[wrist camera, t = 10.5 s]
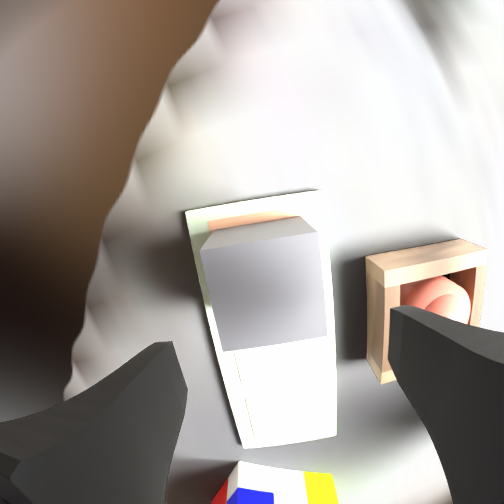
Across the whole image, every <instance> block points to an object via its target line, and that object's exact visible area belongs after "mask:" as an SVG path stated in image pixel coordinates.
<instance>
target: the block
mask: <svg viewBox="0 0 504 504" xmlns="http://www.w3.org/2000/svg"><path fill="white" fill-rule="evenodd" d="M200 255H201V260H202V265H203V269H204V274H205V278H206V283H207V287H208V292H209V296H210V301H211V305H212V309H213V314H214V318H215V322H216V326H217V331H218V335H219V339H220V343H221V347H222V351H223V352H227V351H236V350H244V349H251V348H259V347H266V346H272V345H279V344H285V343H292V342H298V341H303V340H309V339H315V338H320V337H325V336H328V332H327V318H326V305H325V293H324V282H323V272H322V262H321V252H320V243H319V235H318V231H317V230H316V229H315V228H313V227H312V226H311V225H310V224H309V223H308V222H307V221H306V220H304V219H303V218H302V217H301V216H296V217H290V218H283V219H277V220H270V221H264V222H258V223H252V224H246V225H239V226H233V227H227V228H222V229H216V230H214V231H213V232H212V233H211V235H210V236H209V238H208V239H207V241H206V242H205V243H204V245H203V246H202V248H201V249H200Z"/></svg>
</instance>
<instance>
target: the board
mask: <svg viewBox="0 0 504 504" xmlns="http://www.w3.org/2000/svg"><path fill="white" fill-rule="evenodd" d="M185 214H186V219H187V225H188V230H189V235H190V240H191V245H192V250H193V254H194V259H195V264H196V269H197V273H198V278H199V282H200V287H201V291H202V296H203V300H204V304H205V309H206V313H207V317H208V321H209V325H210V329H211V334H212V338H213V342H214V346H215V349H216V353H217V357H218V361H219V365H220V369H221V372H222V376H223V380H224V384H225V387H226V391H227V394H228V398H229V402H230V405H231V409H232V412H233V415H234V419H235V422H236V426H237V429H238V432H239V436H240V439H241V442H242V445H243V449H249V448H260V447H270V446H278V445H285V444H293V443H299V442H305V441H311V440H317V439H322V438H327V437H332V436H336V430H337V379H336V344H335V323H334V306H333V291H332V278H331V266H330V255H329V245H328V235H327V226H326V217H325V209H324V201H323V193H322V190H316V191H308V192H301V193H294V194H287V195H280V196H273V197H266V198H260V199H254V200H247V201H241V202H235V203H229V204H223V205H217V206H211V207H206V208H200V209H195V210H189V211H186V212H185ZM296 216H301V217H302V218H303V219H304V220H306V221H307V222H308V223H309V224H310V225H311V226H312V227H313V228H315V229H316V230H317V231H318V235H319V243H320V252H321V262H322V272H323V282H324V293H325V305H326V318H327V332H328V336H325V337H320V338H315V339H309V340H303V341H298V342H292V343H285V344H279V345H272V346H266V347H259V348H251V349H244V350H236V351H227V352H223V351H222V347H221V343H220V339H219V335H218V331H217V326H216V322H215V318H214V314H213V309H212V305H211V301H210V296H209V292H208V287H207V283H206V278H205V274H204V269H203V265H202V260H201V255H200V249H201V248H202V246H203V245H204V243H205V242H206V241H207V239H208V238H209V236H210V235H211V233H212V232H213V231H214V230H216V229H222V228H227V227H233V226H239V225H246V224H252V223H258V222H264V221H270V220H277V219H283V218H290V217H296Z"/></svg>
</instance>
